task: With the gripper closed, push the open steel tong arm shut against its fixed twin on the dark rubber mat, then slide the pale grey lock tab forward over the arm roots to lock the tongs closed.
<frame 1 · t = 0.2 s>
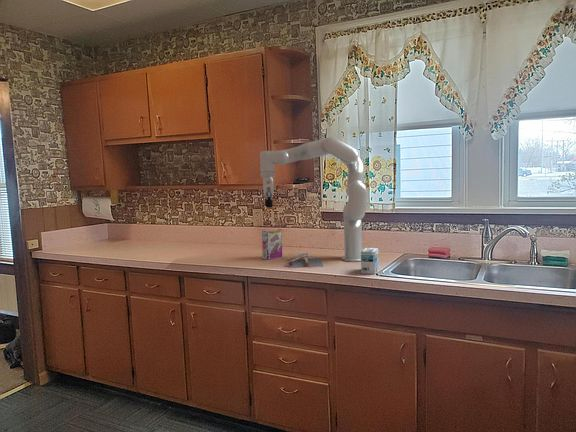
hand: (268, 206, 241), 31 cm above the counter, fingers open, 9 cm apart
lock tab: (303, 255, 250), point 2 cm above the counter, slide at 0.0 cm
light bulb box: (370, 272, 218), on the counter
mat: (304, 263, 240), on the counter
tong arm: (294, 261, 238), point 2 cm above the counter, hinge at 28.0°
tongs fixed: (303, 260, 247), resting on mat
candy bar box: (272, 259, 256), on the counter
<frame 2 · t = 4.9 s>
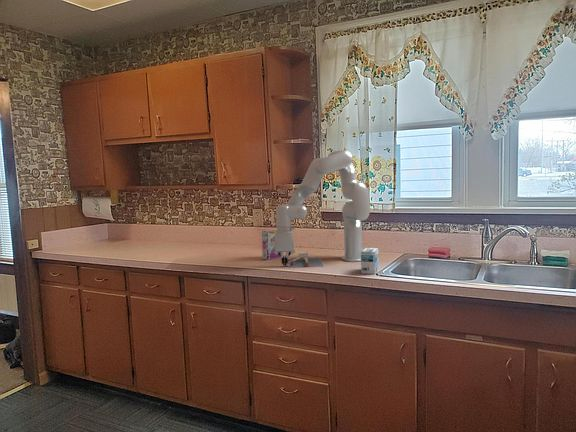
hand: (284, 264, 232), 1 cm above the counter, fingers closed
tong arm: (294, 261, 237), point 2 cm above the counter, hinge at 26.1°, touching gripper
everything else where it was.
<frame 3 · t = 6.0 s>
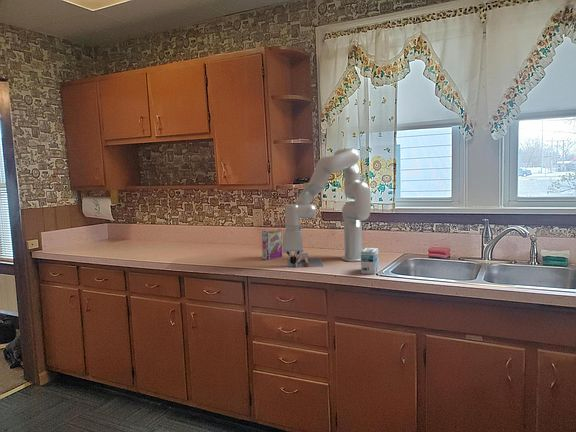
hand: (293, 264, 231), 2 cm above the counter, fingers closed
tong arm: (299, 261, 237), point 2 cm above the counter, hinge at 12.4°, touching gripper
everything else where it was.
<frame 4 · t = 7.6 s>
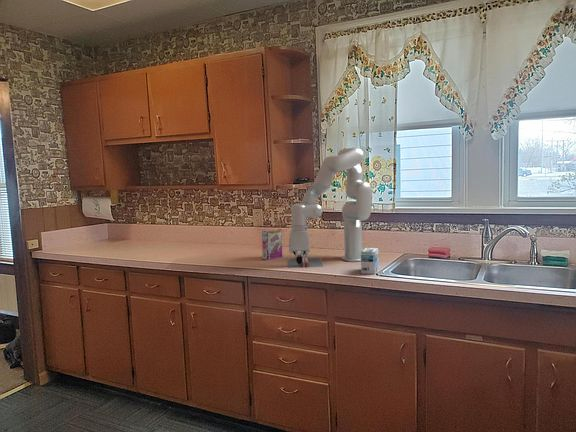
hand: (299, 263, 232), 2 cm above the counter, fingers closed
tong arm: (303, 261, 236), point 2 cm above the counter, hinge at 0.6°, touching gripper
everything else where it was.
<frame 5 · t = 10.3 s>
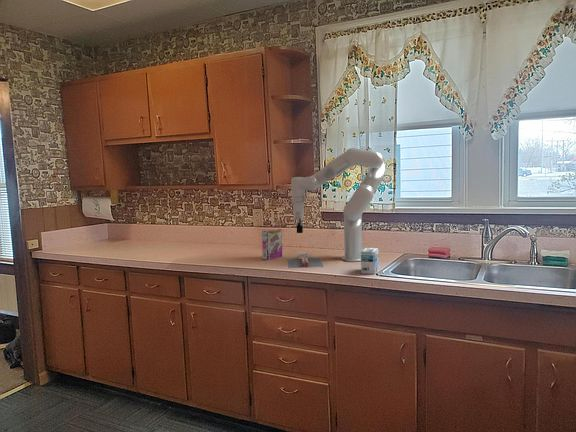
hand: (299, 232, 249), 15 cm above the counter, fingers closed
tong arm: (303, 261, 236), point 2 cm above the counter, hinge at 0.4°
everything else where it was.
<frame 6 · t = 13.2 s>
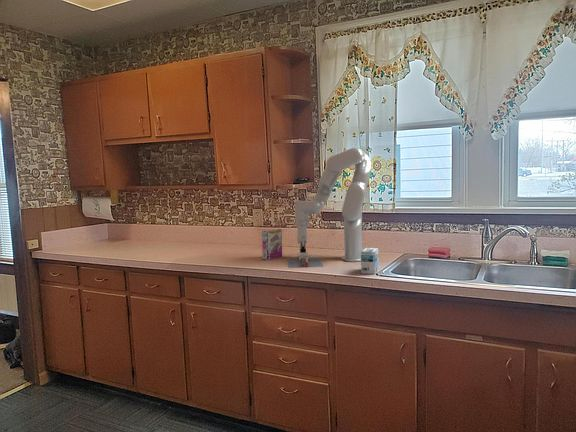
hand: (303, 255, 253), 2 cm above the counter, fingers closed
lock tab: (303, 256, 248), point 2 cm above the counter, slide at 1.6 cm, touching gripper
everything else where it was.
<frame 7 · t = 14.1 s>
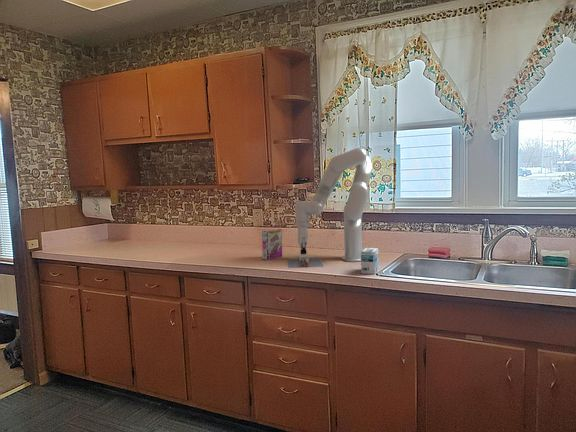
hand: (303, 256, 249), 2 cm above the counter, fingers closed
lock tab: (304, 257, 244), point 2 cm above the counter, slide at 5.5 cm, touching gripper
everything else where it was.
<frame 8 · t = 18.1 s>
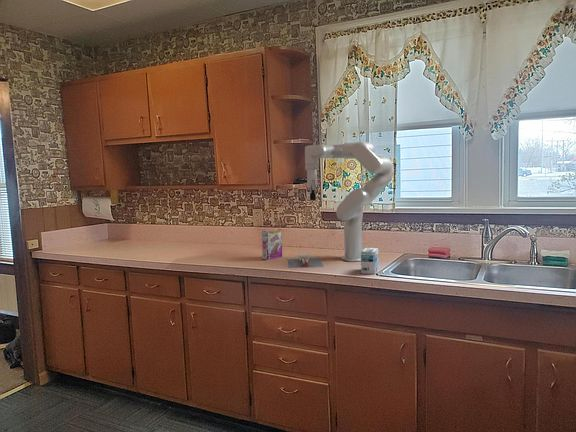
hand: (312, 200, 257), 32 cm above the counter, fingers closed
lock tab: (303, 257, 245), point 2 cm above the counter, slide at 5.1 cm
everything else where it was.
at the end: tong arm at +0° (first picture: +28°); lock tab slide at 5.1 cm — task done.
